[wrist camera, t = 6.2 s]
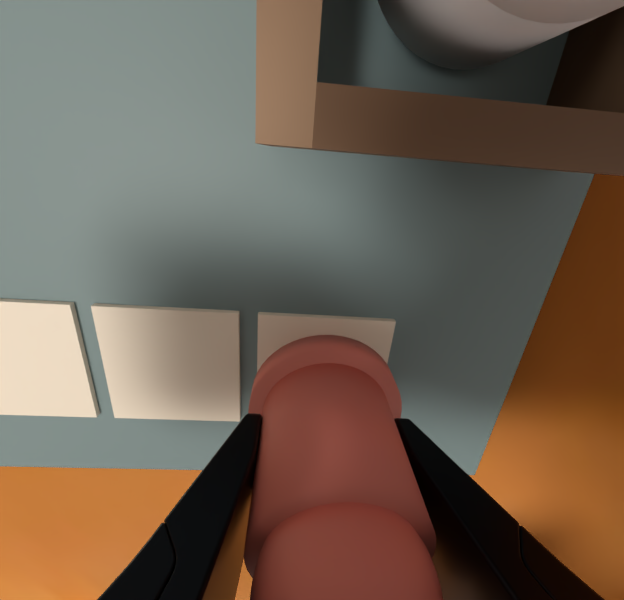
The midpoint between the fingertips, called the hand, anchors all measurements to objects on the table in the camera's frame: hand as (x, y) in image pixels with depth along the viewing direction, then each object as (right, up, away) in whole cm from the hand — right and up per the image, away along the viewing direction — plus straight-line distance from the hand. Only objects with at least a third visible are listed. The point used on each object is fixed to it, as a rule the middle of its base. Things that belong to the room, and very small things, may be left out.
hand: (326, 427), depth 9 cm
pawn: (0, 0, +1) cm, 1 cm away
